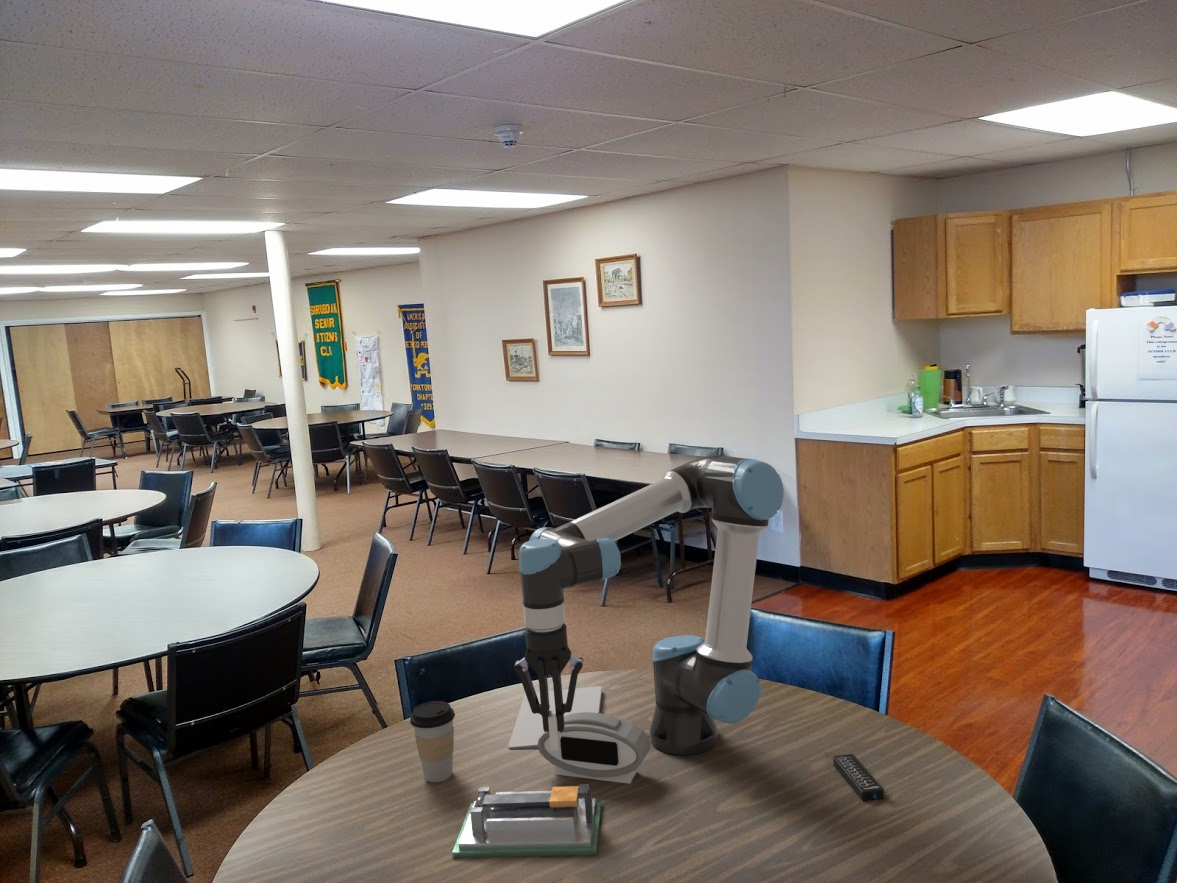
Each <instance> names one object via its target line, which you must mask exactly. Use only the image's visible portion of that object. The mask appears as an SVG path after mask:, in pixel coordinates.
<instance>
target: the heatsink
mask: <svg viewBox="0 0 1177 883" xmlns="http://www.w3.org/2000/svg"><path fill="white" fill-rule="evenodd" d="M578 786H579V791H578V803H577V807H554V808H550V806H524V807H495V808H483V807H474V806H475V803H476V800H475V801H473V802H471V803H470V804H469V808H468V810H467V813H466V814H465V818H464V821H463V823H462V826H461V829H460V832H459V834H458V836H457V839H456V842H455V844H454V846H453V849H452V852H451V853H452V858H495V857H496V858H498V857H501V858H502V857H504V858H506V857H509V858H511V857H547V856H548V857H549V856H551V857H555V856H564V857H565V856H596V855H597V849H598V840H599V830H600V823H601V814H602V813H601V812H602V800H601V799H596V798H595V797H592V796H593V795H592V788H591V787H590V784H589V783H584V784H583V783H581V784H579V785H578ZM490 788H491V787H490V786H481V787H479V788H478V790H477V793H478V794H477V796H478V795H479V793H481V792H483V793H485V794H486V795H491V789H490ZM551 792H552V790H534V791H533V790H530V791H529V790H527V791H497V792H496V791H495V794H494V795H504V794H532V793H551Z"/></svg>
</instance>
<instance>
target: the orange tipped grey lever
mask: <svg viewBox="0 0 1177 883" xmlns="http://www.w3.org/2000/svg"><path fill="white" fill-rule="evenodd" d="M551 791H552V792H551V793H532V794H504V795H495V794H490V795H486V794H485V793H483V792H481V793H479V795H478V794H477V798H476V800H475V801H476V803H475V806H474V807H483V808H495V807H524V806H550V808H554V807H577V803H578V791H579V785H576V786H575V785H573V786H572V785H569V786H552V788H551Z"/></svg>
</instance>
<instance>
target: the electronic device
mask: <svg viewBox="0 0 1177 883" xmlns="http://www.w3.org/2000/svg"><path fill="white" fill-rule="evenodd" d="M568 689H569V688H564V689H563V688H562V695H563V704H564V703H566V701H567V695H568ZM535 692H536V695H537V698H538V701H539V704H541V701H540V691H535ZM548 694H549V706H550V709H549V711H555V700H554V689H553V690H548ZM602 697H603V688H602V686H600V685H596V686H595V685H594V686H587V687H585V686H584V687H576V688H575V694H574V700H573V705H572V710H571V712H566V713H564V716H567V715H570V714H574V713H582V712H594V713H600V714H601V705H602ZM543 733H544V730H543V719H542V715H540V714H538V713H536V714H534V713H532V711H531V708H530V705H529V702H528V699H527V696H526V693H524V696H523V699H522V702H521V705H520V708H519V711H518V714H517V717H516V721H515V723H514V727H513V730H512V732H511V735H510V738H509V742H508V746H507V748H508V749H510V750H516V749H517V750H518V749H519V750H520V749H521V750H522V749H538V746H537V745H538V740H539V738H540V737H541V736H542V735H543Z"/></svg>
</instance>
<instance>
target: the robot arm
mask: <svg viewBox="0 0 1177 883" xmlns="http://www.w3.org/2000/svg"><path fill="white" fill-rule="evenodd" d="M783 484H784V483H783V481H782V478H781V476H780V474H779V473H778V472H777V470H776V469H775V467H773V466H772V465H771V464H769V463H768V462H766V461H765V462H764V461H760V460H758V459H754V458H745V457H744V458H743V457H736V456H729V455H723V454H711V455H705V456H702V457H699V458H695V459H693V460H691V461H687V462H686V463H684V464H681V465H679V466H677V467H675V468H672V469H670V470H668V471H666V472H664V473H663V475H662V477H661V479H660V480H657V481H655V482H652V483H651V484H649V485H647V486H645V487H642V488H641V489H638V490H635V491H634V492H632V493H630V494H627V495H625V496H623V497H621V498H618V499H616V500H615V501H613V502H611V503H608V504H606V505H604V506H601V507H598V508H597V509H595V510H592V511H590V512H589V513H586V514H584V515H582V516H580V517H578V518H576V519H573V520H572V521H569V522H567V523H565V524H562V525H561V526H560V525H559V526H558V527H555V528H554V527H548V526H547V527H545V526H544V527H540V528H538V529H535V531H534V532H532V534H531V536H530V537H529V540H528V541H525V542H524V543H522V544H521V546H520V547H519V552H518V554H519V555H518V566H519V567H518V572H519V576H520V584H521V586H520V587H521V594H522V595H521V596H522V610H523V611H522V612H523V621H524V623H523V624H524V626H525V629H524V632H525V633H524V634H525V643H526V651H525V654H524V657H523V658H522V659H519V660H516V661H515V664H514V666H513V670H514V671H515V673H516V674H517V676H518V677H519V678H520V681H521V682H520V683H521V684H522V688H523V690H524V694H526V696H527V699H528V702H529V705H530V708H531V711H532V713H534V714H536V713H538V714H540V715H542V719H543V730H544V732H549V735H550V747H551V751H557V750H559V747H560V733H559V731H563V730H564V726H565V724H564V713H566V712H571V710H572V705H573V700H574V694H575V688H577V682H578V677H579V676H578V675H579V674H580V671H581V670H582V669H583V666H584V658H583V657H577V656H574V655H573V654H572V651H571V650H570V647H569V645H568V644H569V642H568V631H567V625H566V621H567V617H566V608H565V589H570V588H573V587H579V586H582V585H586V584H590V583H594V582H600V581H601V582H602V581H604V580H606V579H609V578H612V577H614V576H616V575H617V574H619V571H620V569H621V566H622V561H621V559H622V558H621V557H622V556H621V552H620V549H619V547H618V545H617V544H616V541H617V540H620V539H622V538H624V537H627V536H628V535H630V534H633V533H635V532H637V531H638V530H641V529H643V528H645V527H647V526H650V525H652V524H653V523H655V522H658V521H660V520H662V519H664V518H666V517H668V516H670V515H672V514H674V513H677V512H678V513H681V514H684V513H687V512H689V511H691V510H693V509H699V508H710V509H712V513H711V521H712V523H713V524H714V525H715V527H716V528H717V533H716V542H715V552H714V560H713V567H712V577H711V586H710V594H709V602H708V603H709V604H708V611H707V620H706V627H705V628H706V629H705V638H703V637H702V636H699V635H698V636H697V635H693V634H689V635H688V634H683V635H676V636H670V637H666V638H663V639H661V640H659V641H657V642H656V643H655V644H654V646H652V647H653V648H652V660H651V661H652V666H653V680H654V683H653V684H654V695H655V696H654V697H655V709H654V712H653V717H652V718H651V719H652V720H651V724H650V726H649V740H650V743H651V745H652V746H653V747H654V748H656V749H658V750H659V751H662V752H664V753H666V754H667V753H668V754H673V755H683V756H684V755H686V756H687V755H694V754H699V753H702V752H705V751H708V750H710V749H711V748H713V747H714V746H715V745H716V744H717V742H718V739H719V735H718V734H719V733H718V732H719V731H718V727H717V724H716V721H715V720H717V721H720V722H722V723H725V724H736V723H739V722H741V721H744V719H746V718H747V717H749V715H750V713H752V712H753V711H754V710H755V708H756V706H757V705H758V703H759V700H760V697H761V693H762V692H761V691H762V686H761V681H760V679H758V678H759V677H758V676H757V675H756V674H755V673H754V671H752V665H753V655H752V654H751V652H750V651H749V650H748V648H747V644H748V636H749V635H748V634H749V629H750V628H749V627H750V620H751V619H750V618H751V610H752V600H753V592H754V586H755V585H754V583H755V577H756V576H755V575H756V568H757V557H758V550H759V541H760V534H761V533H762V532H764V531H765V530H766V529H767V528H769V519H771V518H773V517H774V516H776V514H777V513H778V510H781V508H782V505H783V502H784V495H785V494H784V485H783ZM568 663H569V664H570V665H569V669H571V673H570V677H569V678H570V679H569V685H568V688H567V689H568V695H567V701H566V703H564V704H563V695H562V689H563V685H562V672H563V671H564V669H565V668H566V666H567V664H568ZM529 666H530V668H531V669H532V670H533V672H535V673H536V674H537V677H538V678H537V679H538V680H537V681H538V686H539V692H540V701H541V704H539V701H538V698H537V695H536V692H537V691H536V689H535V686H534V684H533V681H532V678H531V675H530V672H529V670H528V669H529ZM548 676H551V680H552V687H553V690H554V700H555V711H549V709H550V706H549V694H548V691H549V685H548Z"/></svg>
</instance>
